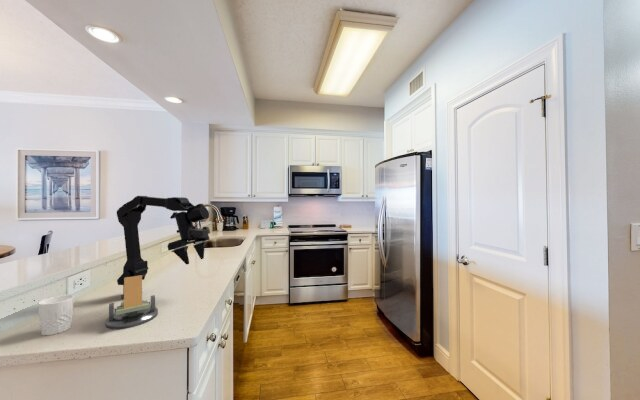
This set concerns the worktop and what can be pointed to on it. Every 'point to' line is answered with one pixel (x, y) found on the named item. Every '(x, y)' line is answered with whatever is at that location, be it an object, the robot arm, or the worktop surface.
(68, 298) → the white cup
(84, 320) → the worktop surface
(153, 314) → the base
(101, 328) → the worktop surface
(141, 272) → the robot arm
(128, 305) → the orange and green block
